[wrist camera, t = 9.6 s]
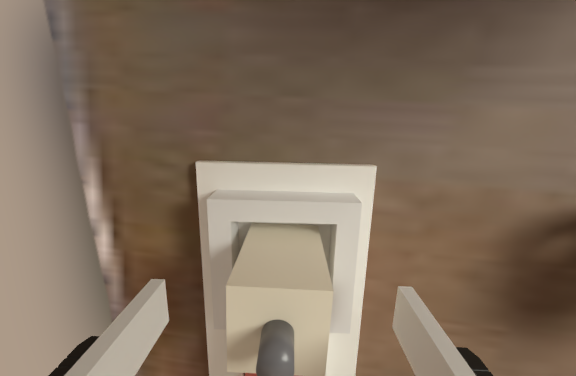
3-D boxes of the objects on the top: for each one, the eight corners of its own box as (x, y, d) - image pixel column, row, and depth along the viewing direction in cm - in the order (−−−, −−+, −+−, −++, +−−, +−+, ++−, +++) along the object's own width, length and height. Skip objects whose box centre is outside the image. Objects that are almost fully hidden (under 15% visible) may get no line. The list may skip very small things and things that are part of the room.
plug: (251, 222, 20) (213, 316, 10) (317, 225, 20) (341, 322, 10) (251, 280, 21) (216, 413, 12) (313, 283, 21) (330, 419, 12)
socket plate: (199, 160, 20) (180, 168, 17) (373, 164, 20) (389, 173, 16) (212, 373, 25) (199, 412, 21) (351, 378, 25) (361, 418, 21)
